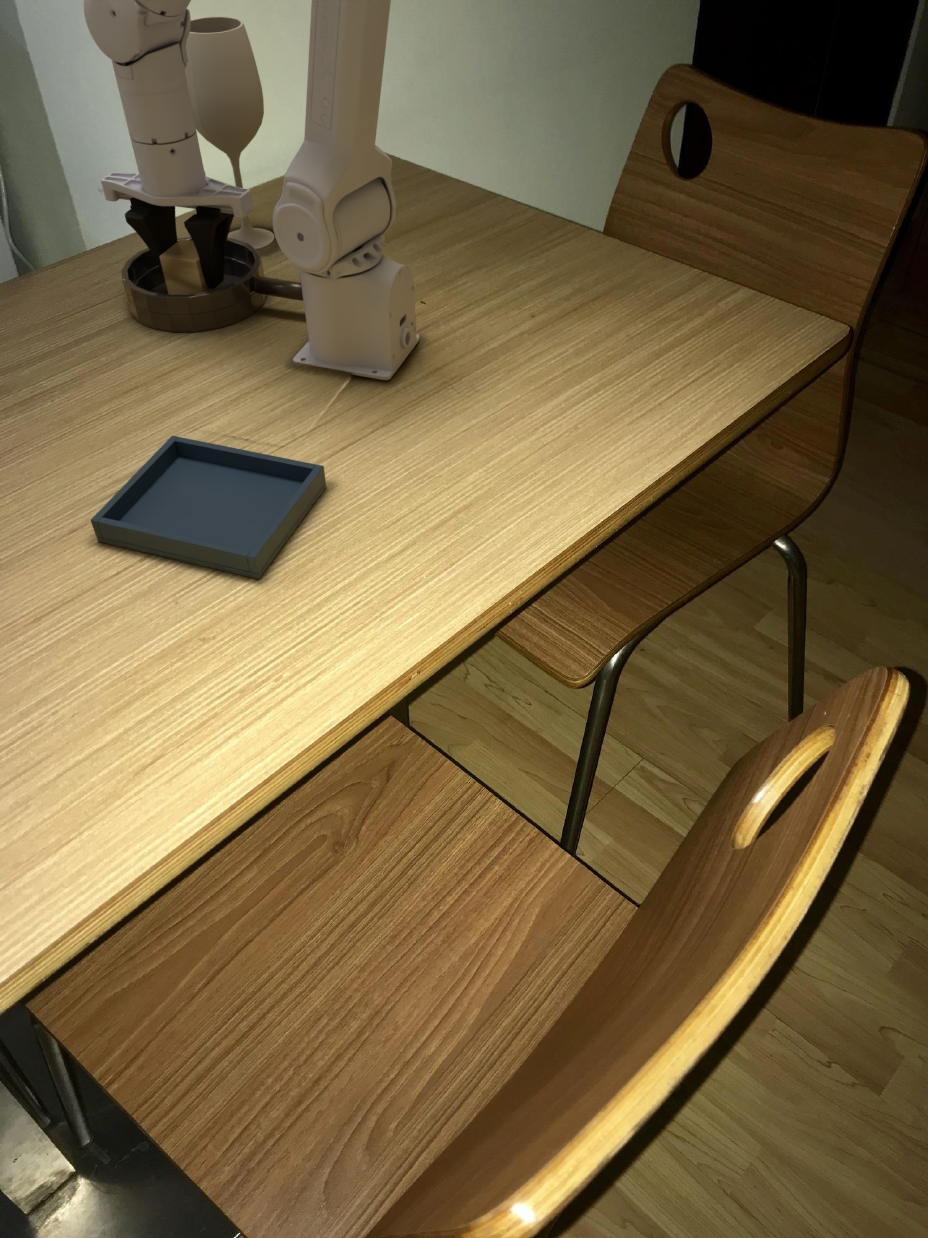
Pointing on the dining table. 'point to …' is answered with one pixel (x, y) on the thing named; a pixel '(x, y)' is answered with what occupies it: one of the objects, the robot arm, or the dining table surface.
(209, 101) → the wineglass
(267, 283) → the pan handle
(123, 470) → the dining table surface
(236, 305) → the pan
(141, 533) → the tray
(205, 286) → the cube
